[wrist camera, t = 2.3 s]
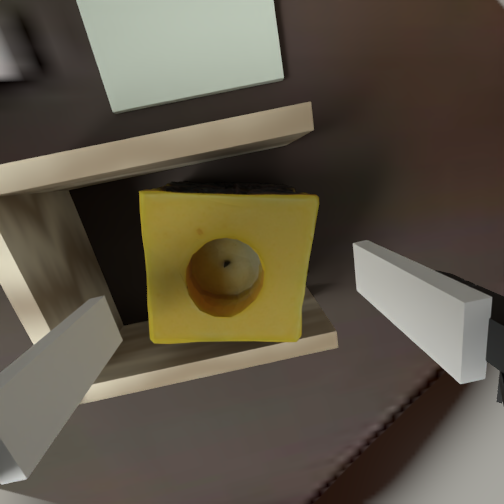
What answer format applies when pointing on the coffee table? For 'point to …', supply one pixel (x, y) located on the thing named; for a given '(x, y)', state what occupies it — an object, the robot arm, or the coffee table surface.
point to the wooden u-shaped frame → (86, 265)
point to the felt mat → (180, 48)
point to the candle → (226, 261)
